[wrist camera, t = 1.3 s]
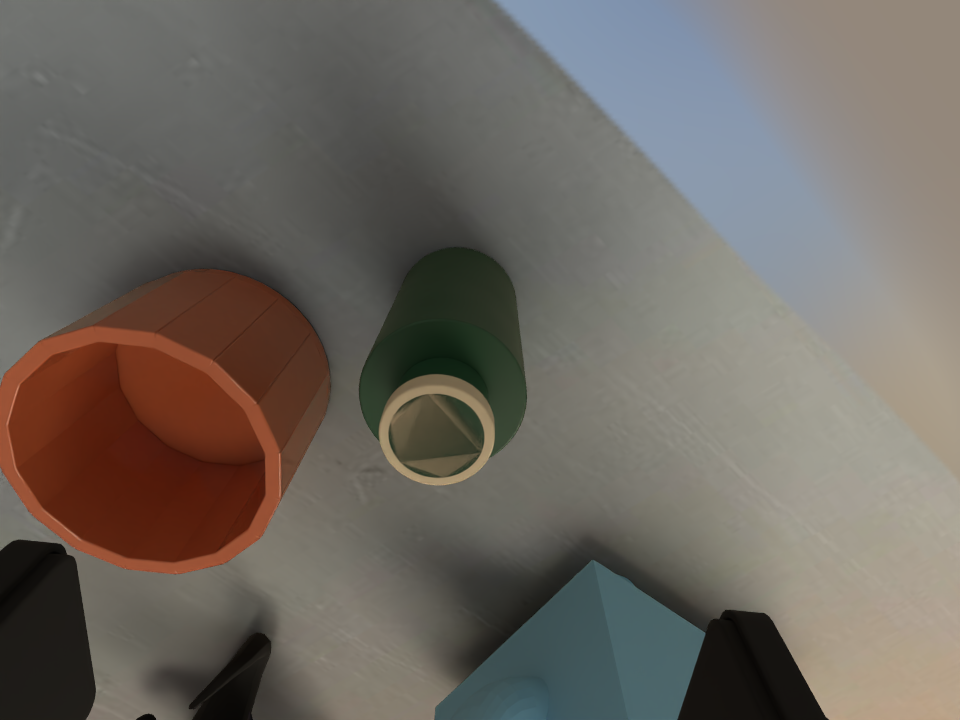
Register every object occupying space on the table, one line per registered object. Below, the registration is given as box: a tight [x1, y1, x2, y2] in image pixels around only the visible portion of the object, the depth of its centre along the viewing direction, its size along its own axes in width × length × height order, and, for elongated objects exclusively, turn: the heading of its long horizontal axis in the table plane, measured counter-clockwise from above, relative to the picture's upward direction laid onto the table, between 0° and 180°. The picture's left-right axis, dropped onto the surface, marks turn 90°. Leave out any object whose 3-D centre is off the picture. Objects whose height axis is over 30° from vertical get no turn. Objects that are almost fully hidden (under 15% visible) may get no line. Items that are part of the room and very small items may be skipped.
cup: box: [0, 269, 331, 574], centre depth 22 cm, size 9×9×6 cm
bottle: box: [359, 247, 527, 485], centre depth 19 cm, size 4×4×10 cm
